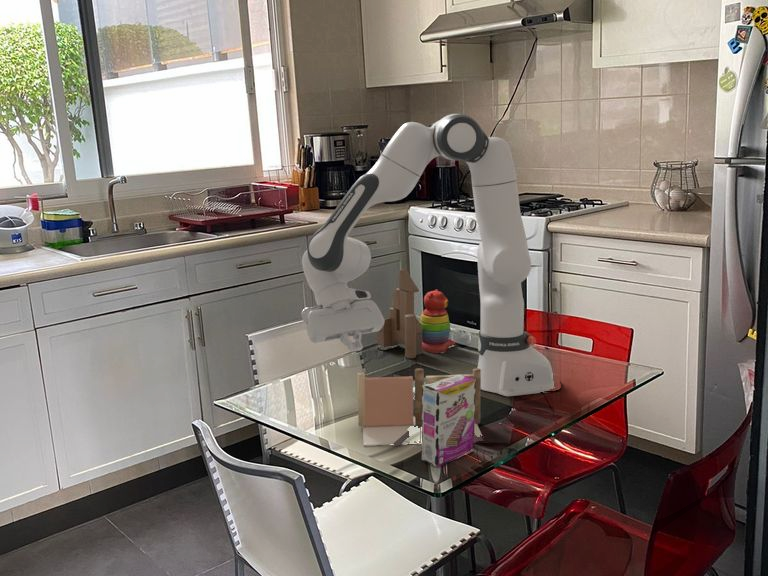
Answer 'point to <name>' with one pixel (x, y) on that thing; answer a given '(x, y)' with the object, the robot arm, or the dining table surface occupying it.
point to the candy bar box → (447, 419)
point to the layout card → (393, 434)
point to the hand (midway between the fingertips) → (356, 350)
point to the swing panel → (385, 400)
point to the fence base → (429, 379)
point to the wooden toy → (402, 319)
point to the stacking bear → (435, 323)
